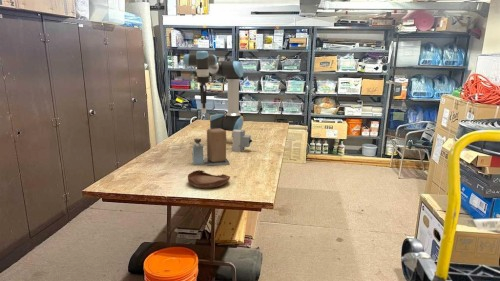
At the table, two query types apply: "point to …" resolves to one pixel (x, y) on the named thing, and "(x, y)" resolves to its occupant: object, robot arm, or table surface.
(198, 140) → the plunger
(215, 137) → the wooden block
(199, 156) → the press
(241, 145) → the circuit breaker
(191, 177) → the broken brown bowl
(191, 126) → the table surface
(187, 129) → the table surface
